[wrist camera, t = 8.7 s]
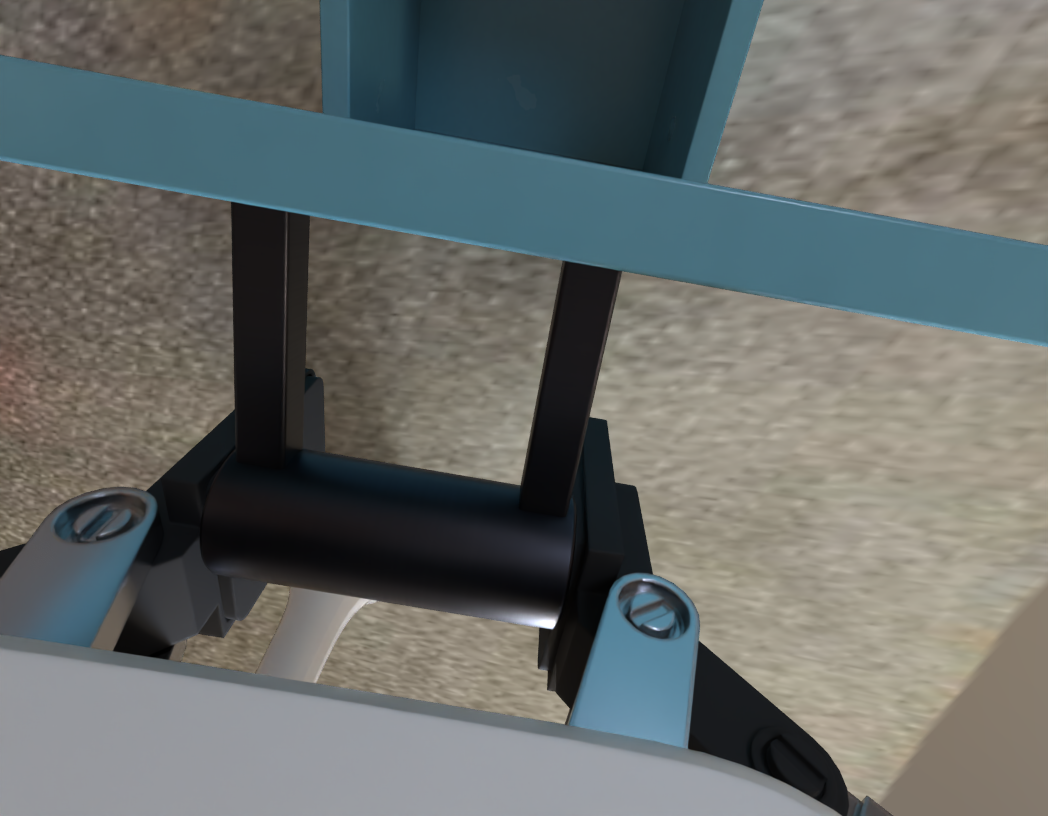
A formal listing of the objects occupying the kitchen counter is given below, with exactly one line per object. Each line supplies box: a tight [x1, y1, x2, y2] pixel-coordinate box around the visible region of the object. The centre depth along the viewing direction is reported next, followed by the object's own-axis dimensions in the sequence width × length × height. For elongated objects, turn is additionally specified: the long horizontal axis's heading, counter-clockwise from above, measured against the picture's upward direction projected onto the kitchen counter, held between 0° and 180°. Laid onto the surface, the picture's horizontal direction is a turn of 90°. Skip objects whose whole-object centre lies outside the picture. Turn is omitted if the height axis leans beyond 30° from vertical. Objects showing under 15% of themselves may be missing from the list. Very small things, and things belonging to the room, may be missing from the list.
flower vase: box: [255, 587, 378, 683], centre depth 28 cm, size 13×18×25 cm
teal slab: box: [0, 55, 1048, 629], centre depth 12 cm, size 15×13×6 cm
